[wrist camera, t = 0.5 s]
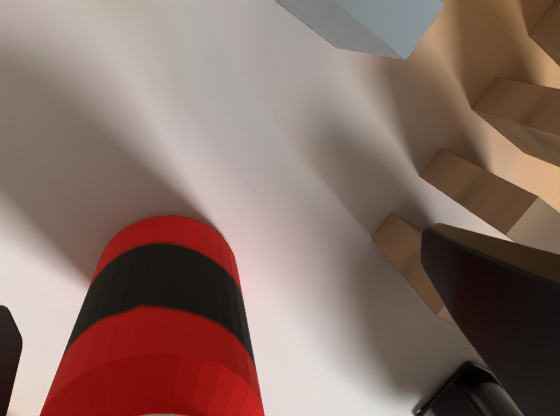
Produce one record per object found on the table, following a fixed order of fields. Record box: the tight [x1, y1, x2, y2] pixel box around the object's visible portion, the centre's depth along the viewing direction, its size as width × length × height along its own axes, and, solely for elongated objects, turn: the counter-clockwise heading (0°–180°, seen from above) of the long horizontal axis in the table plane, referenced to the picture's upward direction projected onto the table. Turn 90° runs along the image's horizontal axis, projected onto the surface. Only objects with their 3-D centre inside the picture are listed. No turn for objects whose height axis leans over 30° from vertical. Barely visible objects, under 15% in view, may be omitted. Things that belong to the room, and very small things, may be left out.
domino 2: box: [372, 212, 458, 327], centre depth 23 cm, size 5×2×8 cm, turn 56°
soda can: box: [40, 216, 265, 416], centre depth 18 cm, size 8×8×12 cm
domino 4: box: [419, 148, 560, 255], centre depth 22 cm, size 5×2×8 cm, turn 56°
